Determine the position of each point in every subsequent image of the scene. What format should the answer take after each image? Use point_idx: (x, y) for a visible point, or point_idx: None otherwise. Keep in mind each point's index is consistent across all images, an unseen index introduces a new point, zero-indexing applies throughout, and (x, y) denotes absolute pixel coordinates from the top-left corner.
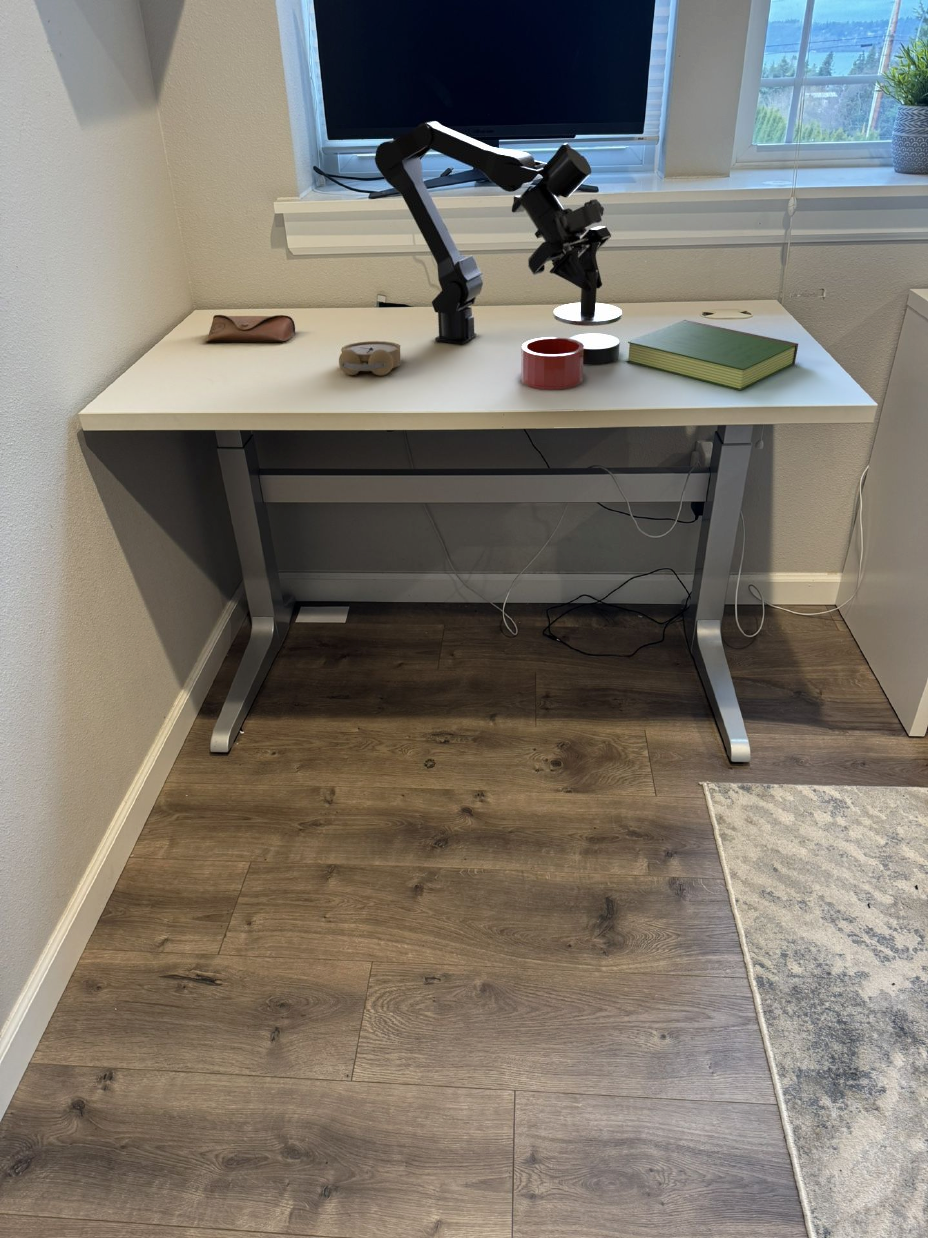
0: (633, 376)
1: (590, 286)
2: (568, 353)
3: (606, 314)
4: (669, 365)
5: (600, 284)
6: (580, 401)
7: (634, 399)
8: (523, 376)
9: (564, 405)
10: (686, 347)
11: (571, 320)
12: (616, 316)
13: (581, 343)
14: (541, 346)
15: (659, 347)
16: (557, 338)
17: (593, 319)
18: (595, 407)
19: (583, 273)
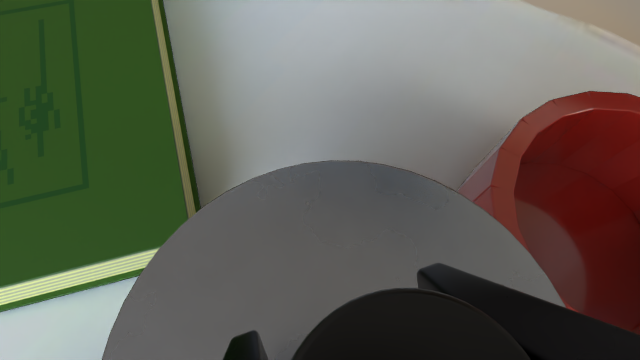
0: (294, 128)
1: (449, 266)
2: (605, 103)
3: (283, 251)
4: (170, 87)
5: (258, 338)
6: (545, 59)
7: (407, 2)
8: None
9: (597, 60)
10: (75, 57)
11: (544, 273)
12: (261, 184)
13: (498, 175)
14: None
15: (150, 108)
16: (573, 308)
17: (414, 210)
18: (526, 13)
19: (604, 347)
